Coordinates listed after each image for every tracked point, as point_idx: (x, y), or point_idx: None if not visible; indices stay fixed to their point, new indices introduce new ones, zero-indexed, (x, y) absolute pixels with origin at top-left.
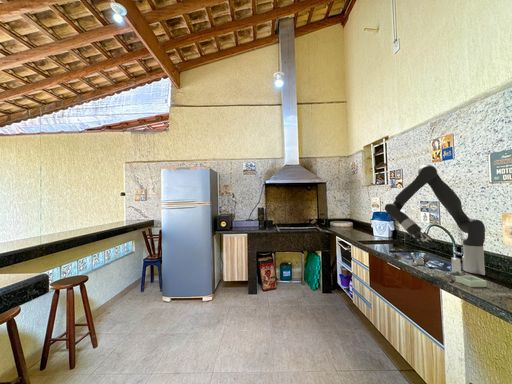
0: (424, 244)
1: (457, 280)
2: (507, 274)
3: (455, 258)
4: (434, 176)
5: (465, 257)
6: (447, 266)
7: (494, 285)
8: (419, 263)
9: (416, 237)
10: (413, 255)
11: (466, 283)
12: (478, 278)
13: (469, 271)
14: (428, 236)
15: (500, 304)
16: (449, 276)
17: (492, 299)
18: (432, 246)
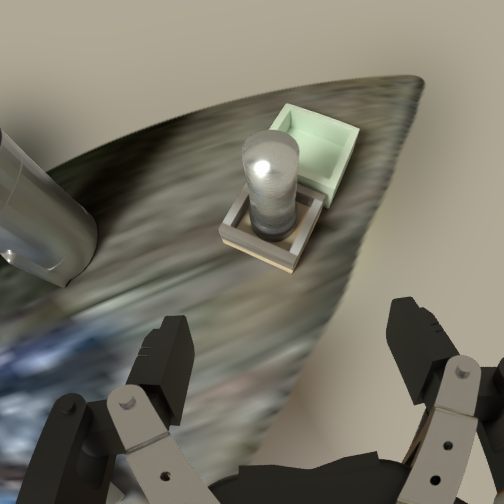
0: (448, 342)
1: (335, 190)
2: None
3: (264, 154)
4: None
5: (35, 231)
6: (32, 370)
7: (205, 133)
8: (110, 487)
9: None
10: None
11: (351, 151)
12: (274, 127)
13: (89, 242)
14: (67, 463)
15: (398, 83)
16: (307, 236)
17: (382, 97)
18: (191, 364)
